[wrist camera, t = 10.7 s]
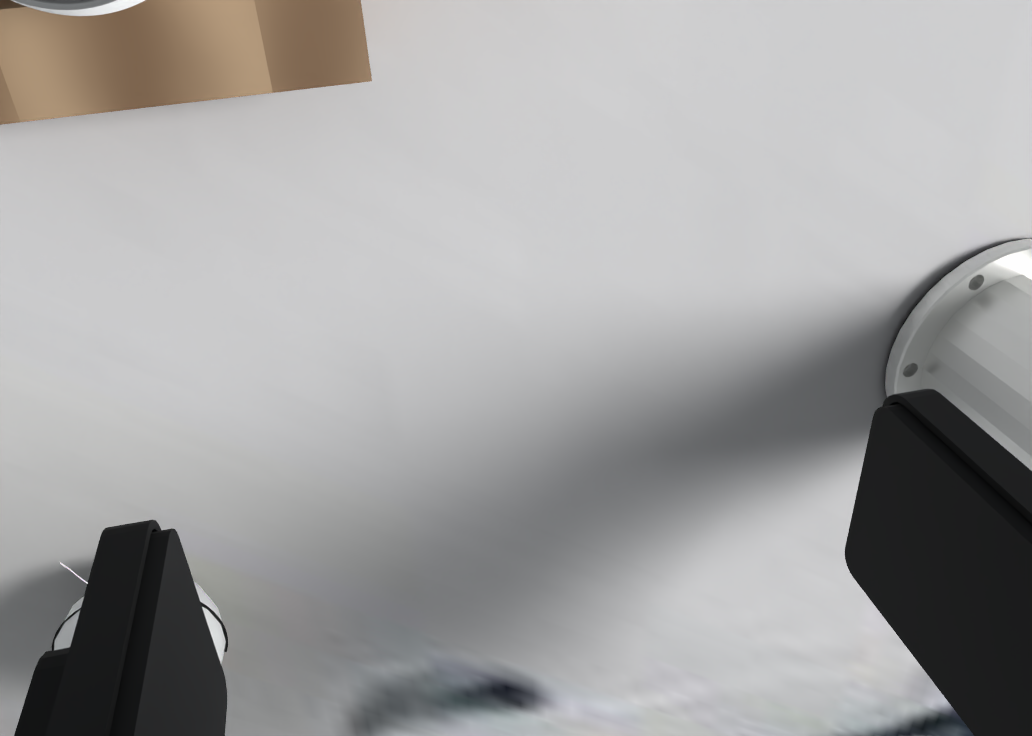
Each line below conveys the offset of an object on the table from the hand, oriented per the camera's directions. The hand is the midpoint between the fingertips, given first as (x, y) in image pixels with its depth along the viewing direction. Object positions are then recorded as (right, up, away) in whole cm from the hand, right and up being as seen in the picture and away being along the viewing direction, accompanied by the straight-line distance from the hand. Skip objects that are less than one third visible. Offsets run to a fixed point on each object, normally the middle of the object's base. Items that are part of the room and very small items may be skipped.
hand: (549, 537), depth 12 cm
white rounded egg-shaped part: (-19, -8, +31) cm, 37 cm away
